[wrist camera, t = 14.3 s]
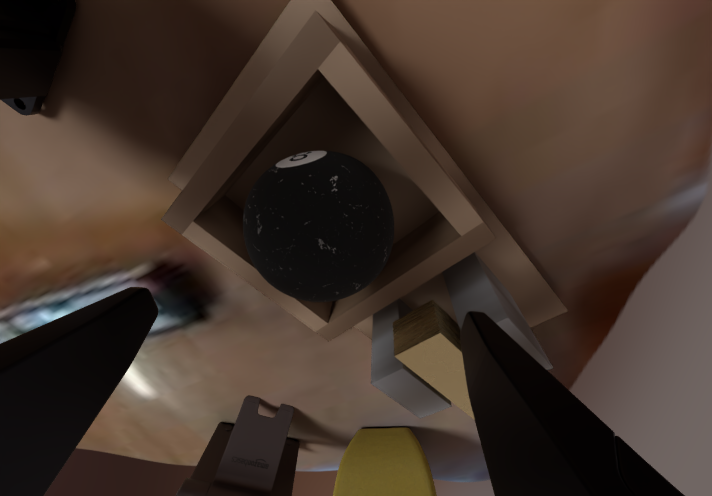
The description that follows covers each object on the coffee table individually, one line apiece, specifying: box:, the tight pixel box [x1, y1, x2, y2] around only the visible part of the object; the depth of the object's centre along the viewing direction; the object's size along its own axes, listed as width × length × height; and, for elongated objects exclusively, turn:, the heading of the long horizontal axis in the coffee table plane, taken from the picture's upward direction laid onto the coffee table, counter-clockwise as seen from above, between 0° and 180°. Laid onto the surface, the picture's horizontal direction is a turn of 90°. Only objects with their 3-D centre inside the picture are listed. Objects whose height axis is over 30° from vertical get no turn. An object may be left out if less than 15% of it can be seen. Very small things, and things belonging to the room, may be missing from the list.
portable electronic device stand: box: [176, 396, 299, 496], centre depth 25 cm, size 9×8×8 cm
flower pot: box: [333, 427, 437, 496], centre depth 25 cm, size 9×9×9 cm
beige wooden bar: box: [393, 299, 475, 420], centre depth 14 cm, size 15×3×6 cm, turn 44°
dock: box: [161, 0, 568, 418], centre depth 14 cm, size 21×11×6 cm, turn 44°
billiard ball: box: [243, 151, 394, 302], centre depth 12 cm, size 6×6×6 cm
